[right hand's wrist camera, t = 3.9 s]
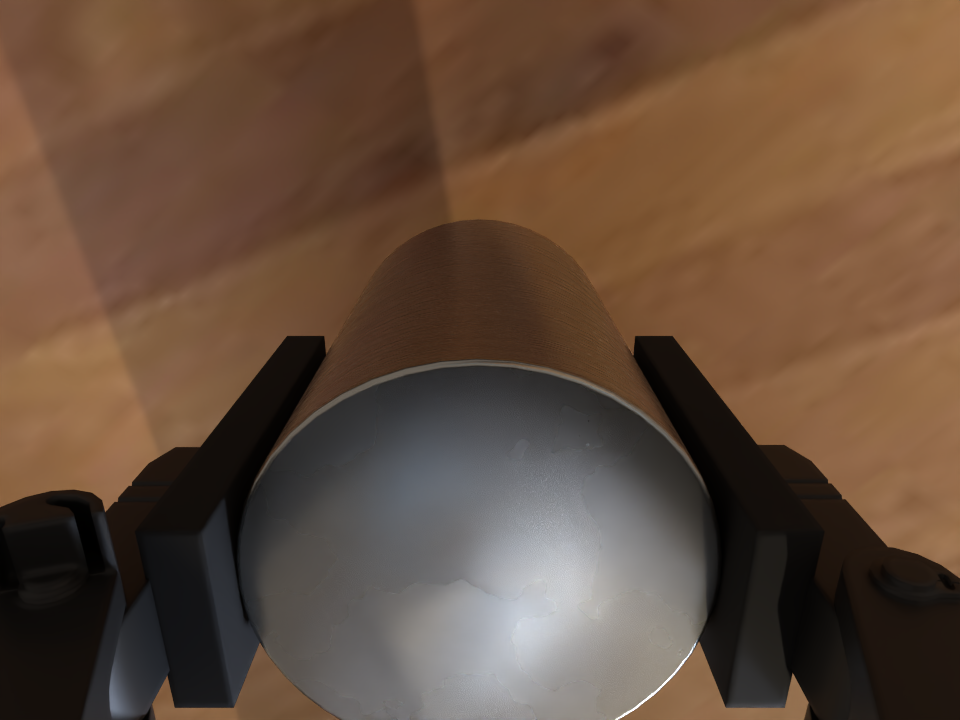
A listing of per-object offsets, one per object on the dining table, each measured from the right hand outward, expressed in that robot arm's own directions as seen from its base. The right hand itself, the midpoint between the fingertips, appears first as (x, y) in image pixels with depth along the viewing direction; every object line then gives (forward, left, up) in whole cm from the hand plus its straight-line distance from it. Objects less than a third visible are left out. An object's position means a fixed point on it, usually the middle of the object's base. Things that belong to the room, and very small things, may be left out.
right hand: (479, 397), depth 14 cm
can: (0, 0, -3) cm, 3 cm away
